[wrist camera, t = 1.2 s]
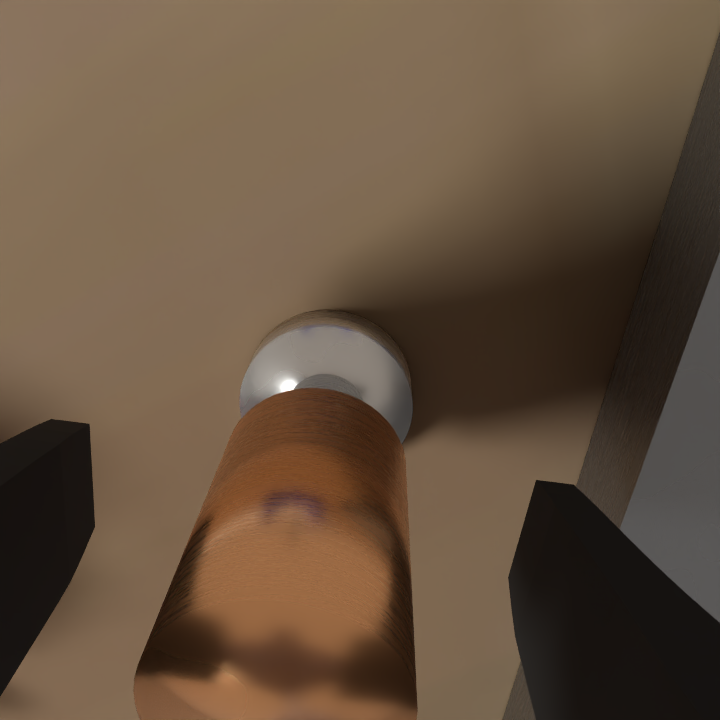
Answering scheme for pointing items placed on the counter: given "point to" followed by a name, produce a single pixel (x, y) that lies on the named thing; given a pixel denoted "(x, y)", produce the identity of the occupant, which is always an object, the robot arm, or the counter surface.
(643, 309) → the keyhole plate
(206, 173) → the counter surface
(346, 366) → the peg
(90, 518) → the robot arm
